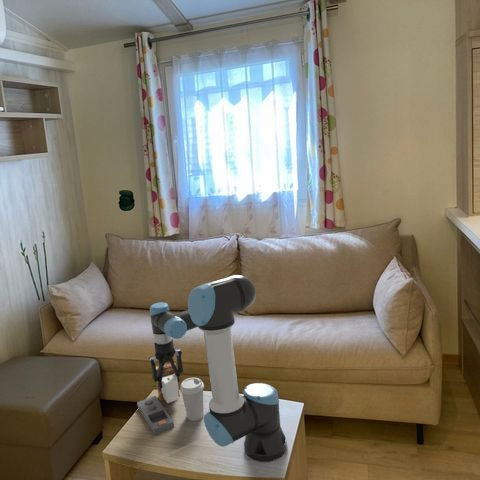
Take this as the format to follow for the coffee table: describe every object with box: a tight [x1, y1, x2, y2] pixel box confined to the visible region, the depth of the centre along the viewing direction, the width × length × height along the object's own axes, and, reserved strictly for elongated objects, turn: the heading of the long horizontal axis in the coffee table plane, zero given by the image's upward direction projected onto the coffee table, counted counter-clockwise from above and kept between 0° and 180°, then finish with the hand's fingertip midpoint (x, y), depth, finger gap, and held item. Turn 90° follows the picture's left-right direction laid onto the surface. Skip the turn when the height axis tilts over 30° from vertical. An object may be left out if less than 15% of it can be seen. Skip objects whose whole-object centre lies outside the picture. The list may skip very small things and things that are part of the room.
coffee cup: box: [179, 377, 205, 422], centre depth 183 cm, size 10×10×15 cm
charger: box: [162, 375, 180, 404], centre depth 191 cm, size 5×5×9 cm
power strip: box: [136, 395, 175, 435], centre depth 186 cm, size 22×8×3 cm, turn 28°
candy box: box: [155, 361, 180, 402], centre depth 198 cm, size 9×4×15 cm, turn 102°
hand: (170, 391), depth 192 cm, fingers closed on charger, 5 cm apart
